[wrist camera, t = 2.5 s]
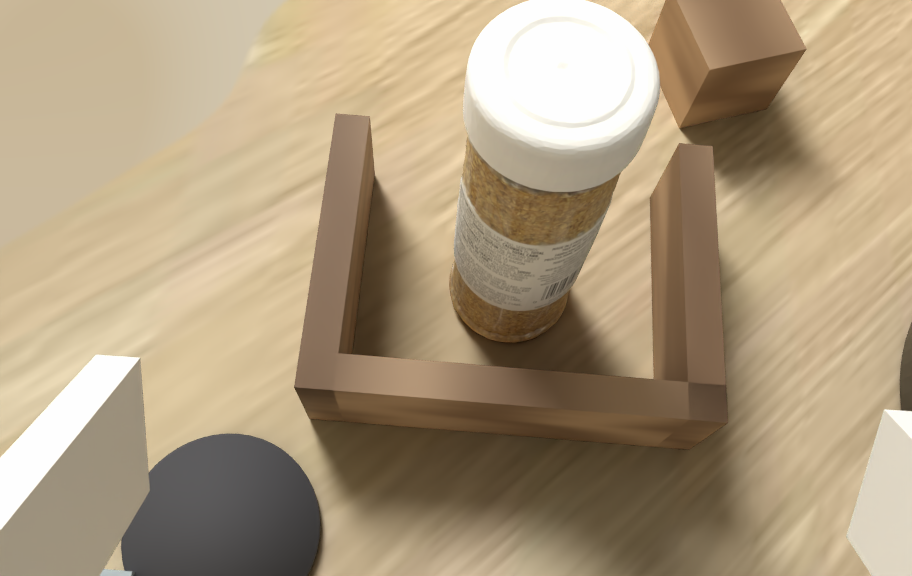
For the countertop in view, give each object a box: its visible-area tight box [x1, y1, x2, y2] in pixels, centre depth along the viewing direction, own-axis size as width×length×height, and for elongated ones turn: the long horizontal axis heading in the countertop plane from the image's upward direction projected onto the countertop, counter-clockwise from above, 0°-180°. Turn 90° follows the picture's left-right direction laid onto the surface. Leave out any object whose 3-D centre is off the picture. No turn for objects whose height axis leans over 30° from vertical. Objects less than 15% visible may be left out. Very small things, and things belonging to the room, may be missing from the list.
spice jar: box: [449, 0, 660, 342], centre depth 25 cm, size 5×5×14 cm
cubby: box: [294, 114, 728, 450], centre depth 30 cm, size 13×10×4 cm
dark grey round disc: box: [121, 434, 321, 576], centre depth 28 cm, size 6×6×1 cm
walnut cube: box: [648, 0, 806, 128], centre depth 34 cm, size 4×4×4 cm
